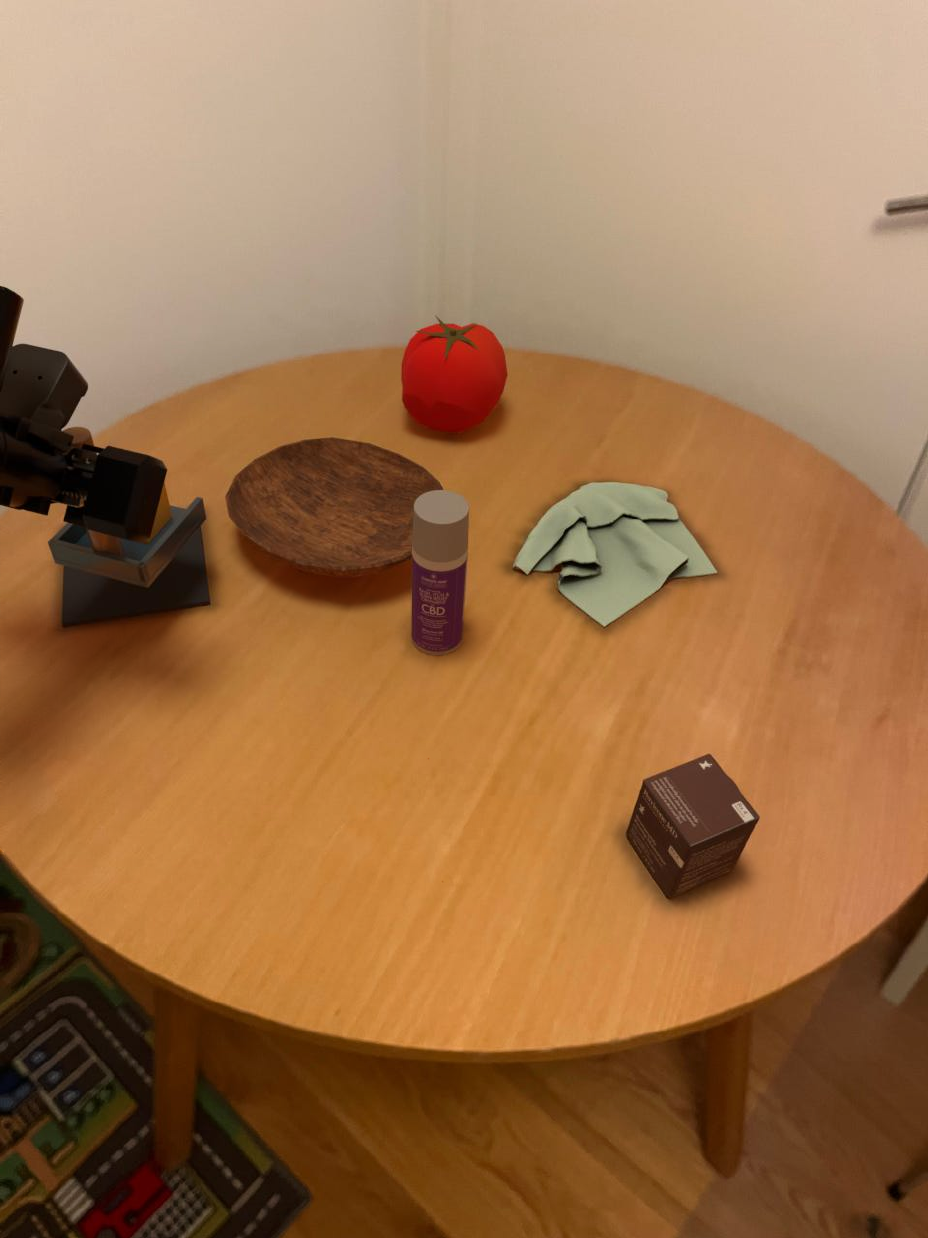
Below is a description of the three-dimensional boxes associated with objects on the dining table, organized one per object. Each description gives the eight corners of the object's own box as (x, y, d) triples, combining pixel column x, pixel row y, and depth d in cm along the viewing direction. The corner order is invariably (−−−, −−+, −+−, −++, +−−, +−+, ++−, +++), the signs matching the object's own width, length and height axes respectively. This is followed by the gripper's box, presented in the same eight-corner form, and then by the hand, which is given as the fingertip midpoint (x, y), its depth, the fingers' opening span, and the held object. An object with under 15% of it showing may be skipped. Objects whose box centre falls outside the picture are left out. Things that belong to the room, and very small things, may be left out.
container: (417, 659, 82) (419, 528, 71) (406, 623, 85) (406, 492, 74) (468, 651, 83) (477, 520, 72) (455, 615, 86) (462, 485, 75)
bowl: (320, 454, 103) (317, 416, 100) (483, 529, 95) (486, 490, 92) (191, 544, 92) (182, 504, 88) (364, 639, 83) (362, 599, 80)
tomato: (376, 412, 110) (374, 322, 102) (462, 379, 116) (466, 291, 108) (440, 460, 104) (443, 368, 95) (527, 422, 110) (537, 332, 102)
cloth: (670, 481, 103) (675, 463, 101) (739, 617, 87) (745, 599, 86) (490, 490, 100) (492, 471, 98) (529, 633, 85) (531, 614, 83)
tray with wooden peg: (148, 588, 77) (113, 459, 68) (54, 563, 79) (9, 434, 70) (206, 518, 84) (182, 393, 75) (120, 497, 86) (86, 371, 77)
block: (149, 543, 80) (139, 507, 77) (108, 533, 81) (98, 497, 78) (172, 517, 83) (164, 481, 80) (133, 507, 84) (124, 471, 81)
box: (623, 834, 70) (640, 777, 65) (688, 807, 72) (710, 750, 67) (667, 901, 66) (690, 847, 61) (735, 871, 68) (762, 816, 63)
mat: (62, 627, 83) (61, 623, 82) (66, 530, 92) (64, 527, 92) (210, 604, 86) (209, 600, 85) (198, 513, 95) (198, 509, 95)
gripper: (123, 359, 58) (230, 421, 74) (-121, 305, 62) (30, 375, 77) (80, 529, 58) (196, 555, 74) (-161, 466, 62) (-3, 504, 77)
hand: (103, 492), depth 75 cm, fingers closed on tray with wooden peg, 2 cm apart
